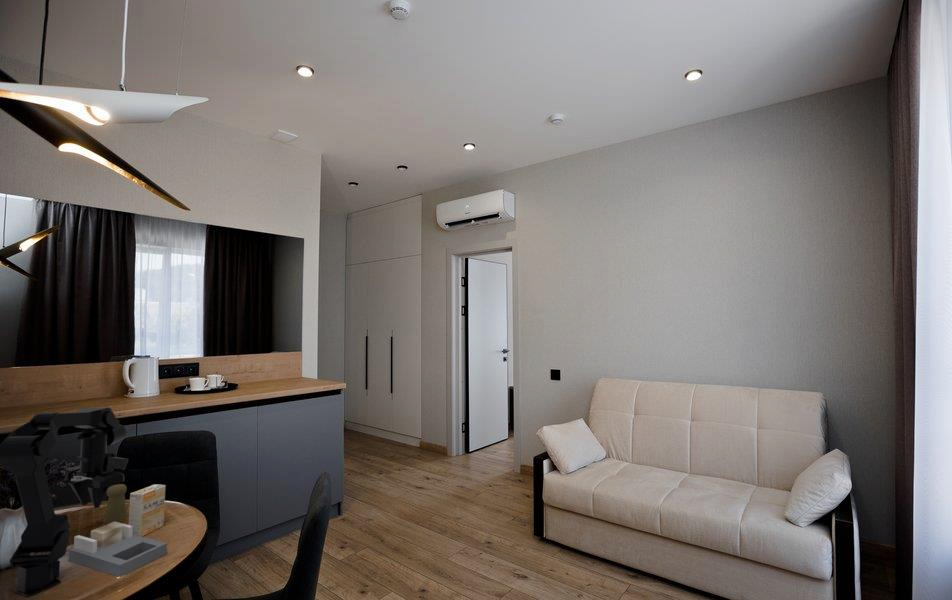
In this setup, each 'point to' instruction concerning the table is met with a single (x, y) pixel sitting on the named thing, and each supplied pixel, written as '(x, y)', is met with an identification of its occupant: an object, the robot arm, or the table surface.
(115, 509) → the cork
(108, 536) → the birch block
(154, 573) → the table surface
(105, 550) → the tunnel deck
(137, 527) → the supplement box
